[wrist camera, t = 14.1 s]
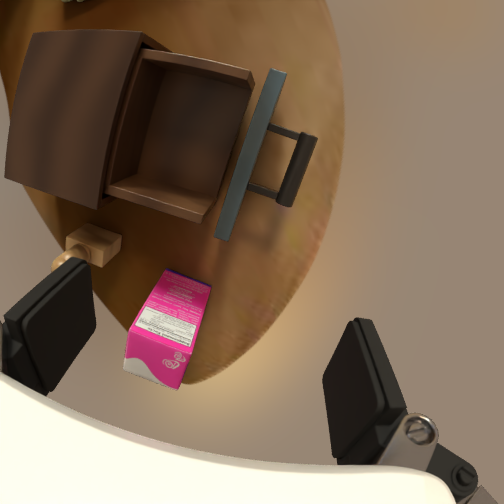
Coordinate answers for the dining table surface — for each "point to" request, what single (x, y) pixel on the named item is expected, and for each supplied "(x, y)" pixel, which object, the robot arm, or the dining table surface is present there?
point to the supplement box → (166, 329)
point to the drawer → (195, 138)
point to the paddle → (90, 246)
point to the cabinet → (70, 110)
